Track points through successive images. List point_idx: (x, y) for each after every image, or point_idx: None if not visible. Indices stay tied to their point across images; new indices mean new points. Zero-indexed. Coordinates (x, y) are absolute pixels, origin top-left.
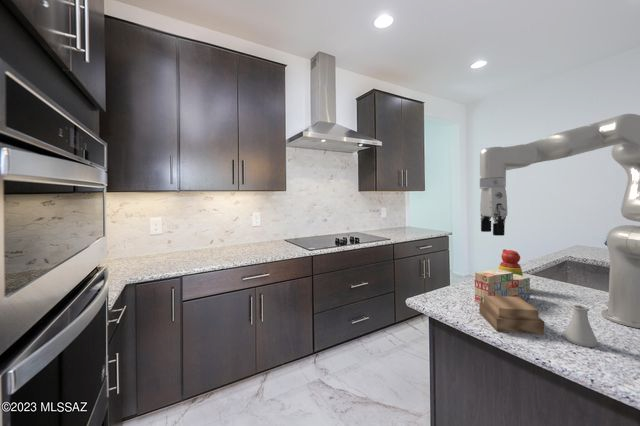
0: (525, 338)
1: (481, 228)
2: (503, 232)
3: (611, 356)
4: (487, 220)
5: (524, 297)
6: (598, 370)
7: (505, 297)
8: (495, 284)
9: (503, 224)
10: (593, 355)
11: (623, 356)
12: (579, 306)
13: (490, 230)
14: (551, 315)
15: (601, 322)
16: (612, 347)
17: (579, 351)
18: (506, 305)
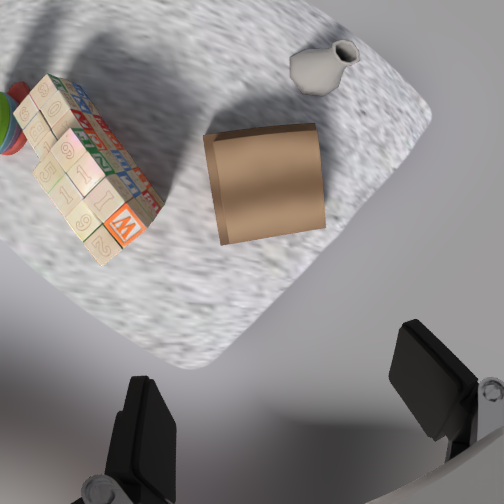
0: (331, 172)
1: (173, 448)
2: (426, 335)
3: None
4: (147, 494)
5: (85, 98)
6: (401, 113)
7: (231, 184)
8: (133, 193)
9: (467, 379)
10: (363, 86)
11: None
12: (334, 47)
13: (152, 386)
14: (181, 62)
15: None
16: (323, 35)
17: (356, 100)
18: (302, 202)
